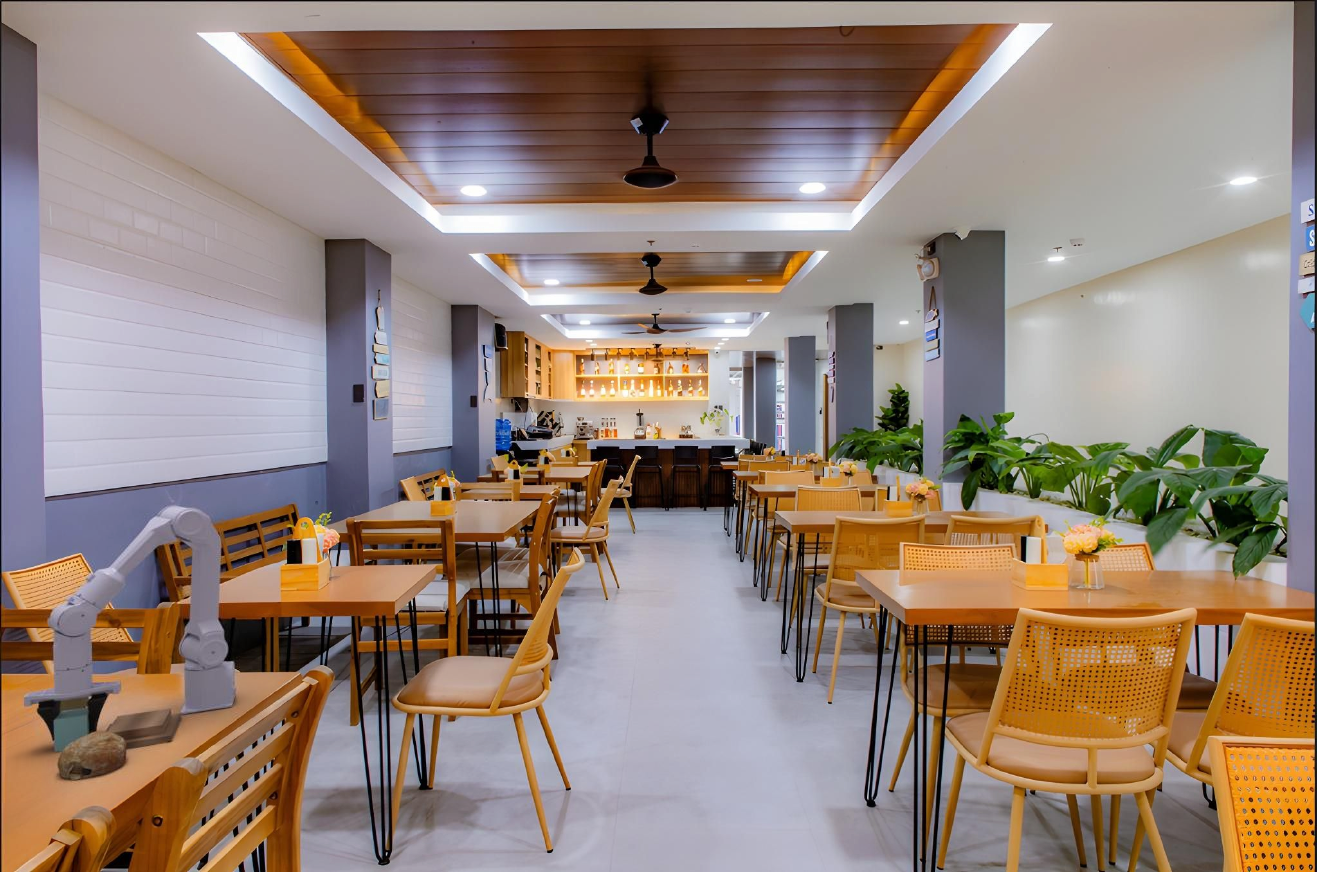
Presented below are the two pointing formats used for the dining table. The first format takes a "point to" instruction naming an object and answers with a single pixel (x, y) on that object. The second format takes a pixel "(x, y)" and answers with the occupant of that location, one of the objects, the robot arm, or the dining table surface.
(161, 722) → the walnut stand
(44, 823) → the dining table surface
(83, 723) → the teal block
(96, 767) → the brown rounded lump
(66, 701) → the cork
